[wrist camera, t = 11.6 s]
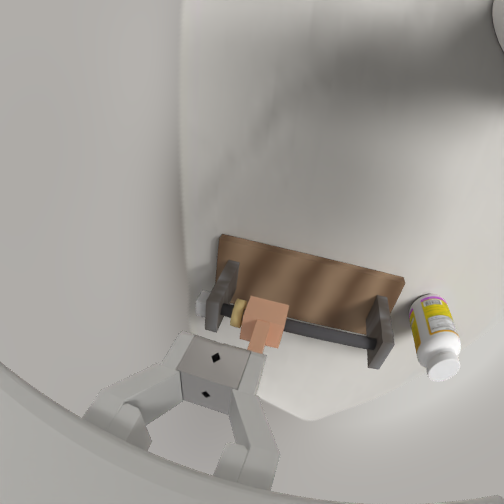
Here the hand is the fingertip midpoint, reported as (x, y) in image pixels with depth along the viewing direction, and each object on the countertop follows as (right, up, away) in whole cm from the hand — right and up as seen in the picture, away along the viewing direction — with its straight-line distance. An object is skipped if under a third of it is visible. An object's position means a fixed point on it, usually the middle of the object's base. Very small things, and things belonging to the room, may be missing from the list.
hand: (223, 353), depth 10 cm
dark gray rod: (+6, -5, +30) cm, 31 cm away
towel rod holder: (+9, -2, +36) cm, 37 cm away
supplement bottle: (+29, -5, +33) cm, 44 cm away
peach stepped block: (+3, -4, +30) cm, 31 cm away
